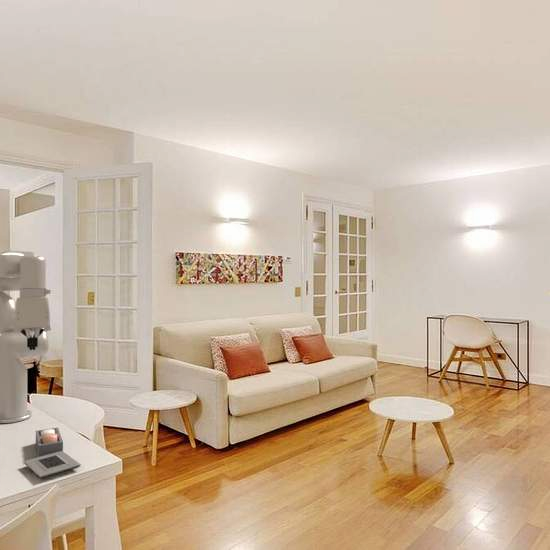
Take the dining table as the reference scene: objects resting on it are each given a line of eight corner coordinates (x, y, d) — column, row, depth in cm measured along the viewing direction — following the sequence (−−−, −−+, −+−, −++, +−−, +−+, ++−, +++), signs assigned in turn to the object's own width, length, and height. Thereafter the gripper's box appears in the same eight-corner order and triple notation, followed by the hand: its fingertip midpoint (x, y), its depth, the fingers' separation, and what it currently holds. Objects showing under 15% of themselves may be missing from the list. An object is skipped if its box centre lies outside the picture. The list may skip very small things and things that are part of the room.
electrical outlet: (80, 472, 126) (80, 463, 126) (40, 484, 119) (40, 475, 119) (62, 457, 136) (62, 449, 136) (23, 468, 128) (23, 460, 128)
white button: (40, 443, 145) (40, 430, 144) (54, 440, 147) (54, 428, 147) (41, 447, 141) (41, 434, 141) (55, 445, 143) (55, 432, 143)
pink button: (42, 447, 139) (42, 434, 138) (56, 445, 141) (56, 432, 141) (43, 452, 135) (43, 439, 135) (57, 449, 137) (58, 436, 137)
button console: (35, 443, 145) (35, 430, 145) (57, 439, 149) (57, 427, 148) (38, 459, 133) (38, 445, 133) (62, 455, 137) (62, 441, 136)
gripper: (56, 292, 156) (56, 346, 157) (6, 293, 149) (5, 349, 149) (59, 293, 150) (58, 349, 150) (6, 294, 142) (6, 353, 142)
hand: (32, 349), depth 150 cm, fingers closed
